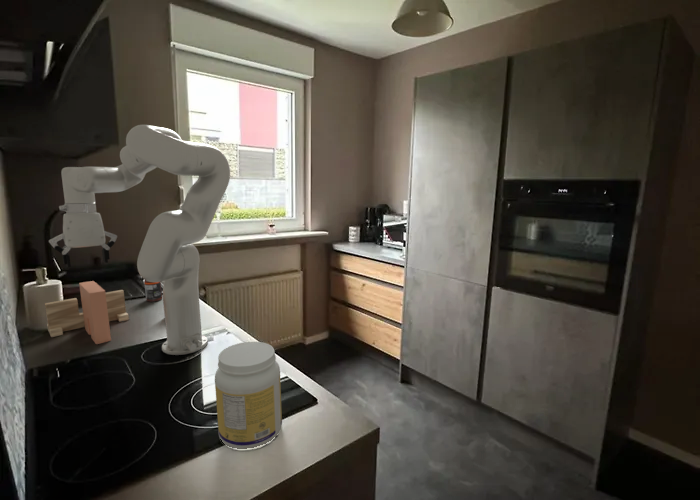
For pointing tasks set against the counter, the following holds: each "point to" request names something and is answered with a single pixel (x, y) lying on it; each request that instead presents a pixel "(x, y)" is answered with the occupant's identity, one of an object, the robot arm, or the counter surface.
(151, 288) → the supplement bottle
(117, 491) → the counter surface
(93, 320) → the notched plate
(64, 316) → the slotted stand
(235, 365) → the supplement tub
